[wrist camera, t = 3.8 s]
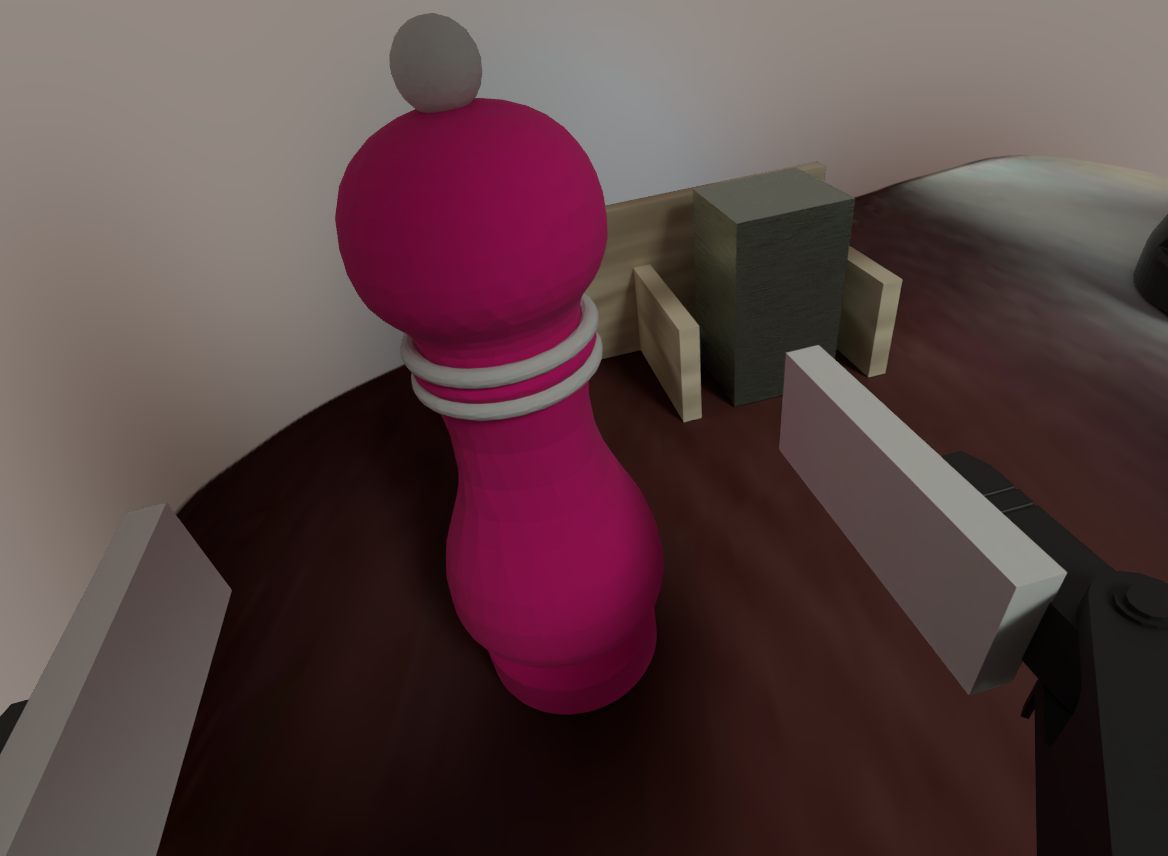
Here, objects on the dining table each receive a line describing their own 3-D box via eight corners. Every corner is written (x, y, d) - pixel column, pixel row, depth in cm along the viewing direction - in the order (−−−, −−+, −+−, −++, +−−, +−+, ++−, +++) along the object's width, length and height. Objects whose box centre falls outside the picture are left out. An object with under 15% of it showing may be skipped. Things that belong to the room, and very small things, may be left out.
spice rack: (885, 373, 34) (915, 208, 29) (488, 469, 33) (441, 312, 27) (804, 304, 42) (816, 161, 36) (475, 379, 40) (435, 241, 34)
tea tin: (832, 383, 34) (855, 198, 28) (734, 407, 34) (736, 223, 28) (784, 335, 39) (795, 167, 33) (697, 356, 38) (692, 188, 32)
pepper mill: (677, 728, 21) (614, -2, 9) (463, 734, 22) (134, 74, 10) (664, 557, 26) (614, -27, 14) (495, 567, 27) (314, 22, 15)
